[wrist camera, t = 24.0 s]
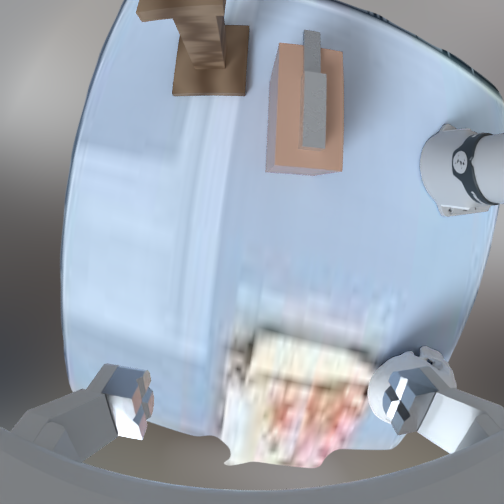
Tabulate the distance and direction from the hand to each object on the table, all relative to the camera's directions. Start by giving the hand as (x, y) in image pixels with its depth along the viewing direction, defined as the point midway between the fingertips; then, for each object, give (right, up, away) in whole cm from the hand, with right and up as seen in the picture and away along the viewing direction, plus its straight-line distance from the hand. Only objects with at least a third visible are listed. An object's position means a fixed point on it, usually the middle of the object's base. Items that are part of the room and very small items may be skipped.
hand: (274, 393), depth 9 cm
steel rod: (+6, +24, +22) cm, 33 cm away
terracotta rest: (+6, +25, +37) cm, 45 cm away
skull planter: (+33, -21, +48) cm, 62 cm away
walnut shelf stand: (-8, +37, +34) cm, 51 cm away
